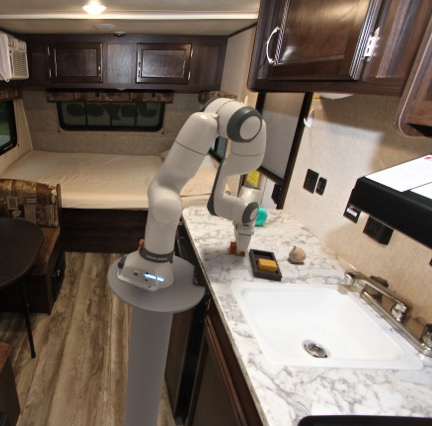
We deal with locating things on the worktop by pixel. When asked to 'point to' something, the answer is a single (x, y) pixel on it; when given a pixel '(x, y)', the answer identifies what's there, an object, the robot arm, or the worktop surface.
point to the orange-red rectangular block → (233, 249)
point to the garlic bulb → (297, 254)
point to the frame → (266, 255)
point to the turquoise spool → (261, 216)
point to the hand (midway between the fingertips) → (237, 249)
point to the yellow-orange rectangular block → (266, 266)
